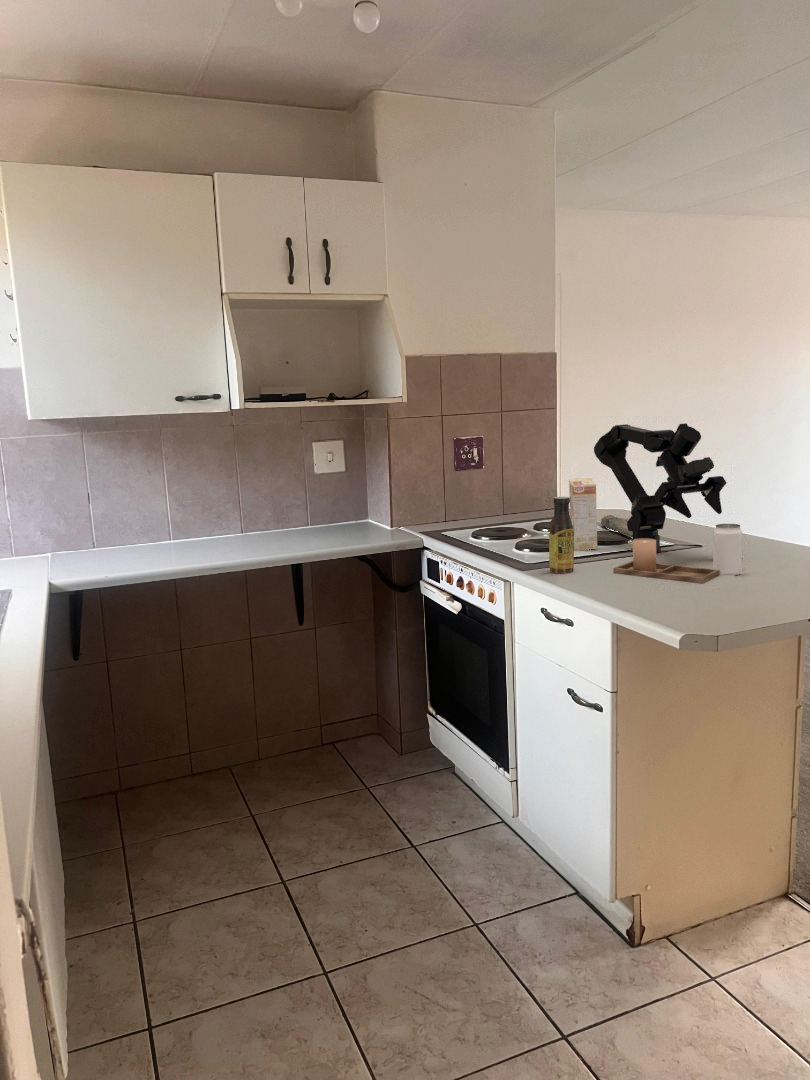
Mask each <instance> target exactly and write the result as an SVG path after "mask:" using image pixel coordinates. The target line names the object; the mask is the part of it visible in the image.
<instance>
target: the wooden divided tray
mask: <svg viewBox="0 0 810 1080" xmlns="http://www.w3.org/2000/svg"><path fill="white" fill-rule="evenodd" d="M612 571H613V573H612V574H617V575H626V576H634V577H640V578H650V579H660V580H666V581H668V580H670V581H677V582H685V583H694V584H701V585H702V584H705V583H707V582H709V581H711V580H713V579H715V578H717V577H719V576H721V574H720V570H715V569H713V568H703V567H697V566H696V567H695V566H686V565H678V564H677V565H676V564H668V563H666V564H665V563H657V562H656V572H648V571H639V570H633V560H631V561H628V562H626V563H623V564H622V565H621V564H620V565H618V566H616V567H613V570H612Z"/></svg>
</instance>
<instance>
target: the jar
mask: <svg viewBox="0 0 810 1080" xmlns="http://www.w3.org/2000/svg"><path fill="white" fill-rule="evenodd" d="M632 549H633V552H632V561H633V570H639V571H648V572H656V563H657V552H656V540H655V539H650V538H639V539H634V540H632Z"/></svg>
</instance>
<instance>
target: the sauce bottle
mask: <svg viewBox="0 0 810 1080" xmlns="http://www.w3.org/2000/svg"><path fill="white" fill-rule="evenodd" d="M553 507H554V508H553V509H554V510H553V517H552V518H551V520H550V522H549V534H548V535H549V538H548V539H549V540H548V542H549V545H548V546H549V547H548V548H549V550H548V551H549V553H548V554H549V556H548V558H549V561H548V562H549V563H548V565H549V573H550V574H555V575H565V574H571V573H573V572H574V567H575V559H574V558H575V551H574V528H573V525H572V522H571V519H570V496H554V497H553Z"/></svg>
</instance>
